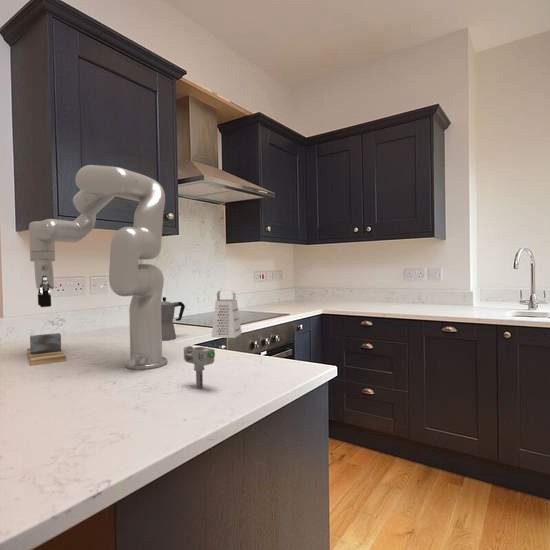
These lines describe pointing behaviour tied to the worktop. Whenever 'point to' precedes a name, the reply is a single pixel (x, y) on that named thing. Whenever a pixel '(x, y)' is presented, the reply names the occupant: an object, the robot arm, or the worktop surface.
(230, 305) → the grater
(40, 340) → the sanding block
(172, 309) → the coffeepot
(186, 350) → the mechanical component
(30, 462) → the worktop surface
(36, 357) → the pine board
